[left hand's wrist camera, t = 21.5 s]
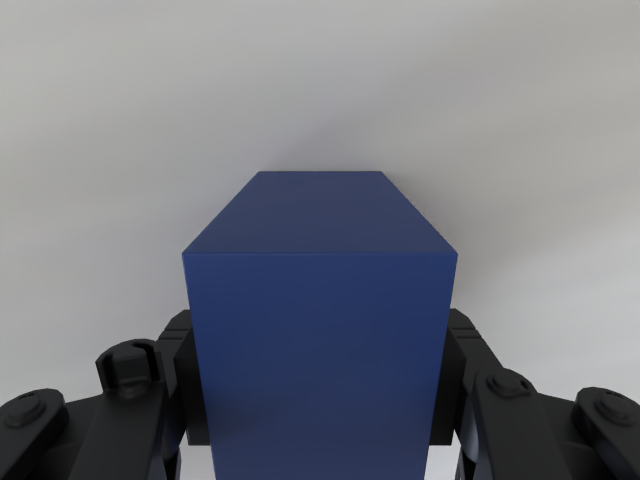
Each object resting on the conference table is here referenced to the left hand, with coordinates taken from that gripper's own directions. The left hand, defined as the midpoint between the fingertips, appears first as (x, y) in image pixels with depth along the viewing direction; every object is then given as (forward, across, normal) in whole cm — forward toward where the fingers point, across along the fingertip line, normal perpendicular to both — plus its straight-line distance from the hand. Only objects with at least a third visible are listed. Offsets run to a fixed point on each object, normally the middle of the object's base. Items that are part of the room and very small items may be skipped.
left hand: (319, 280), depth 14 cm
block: (+2, 0, 0) cm, 2 cm away
